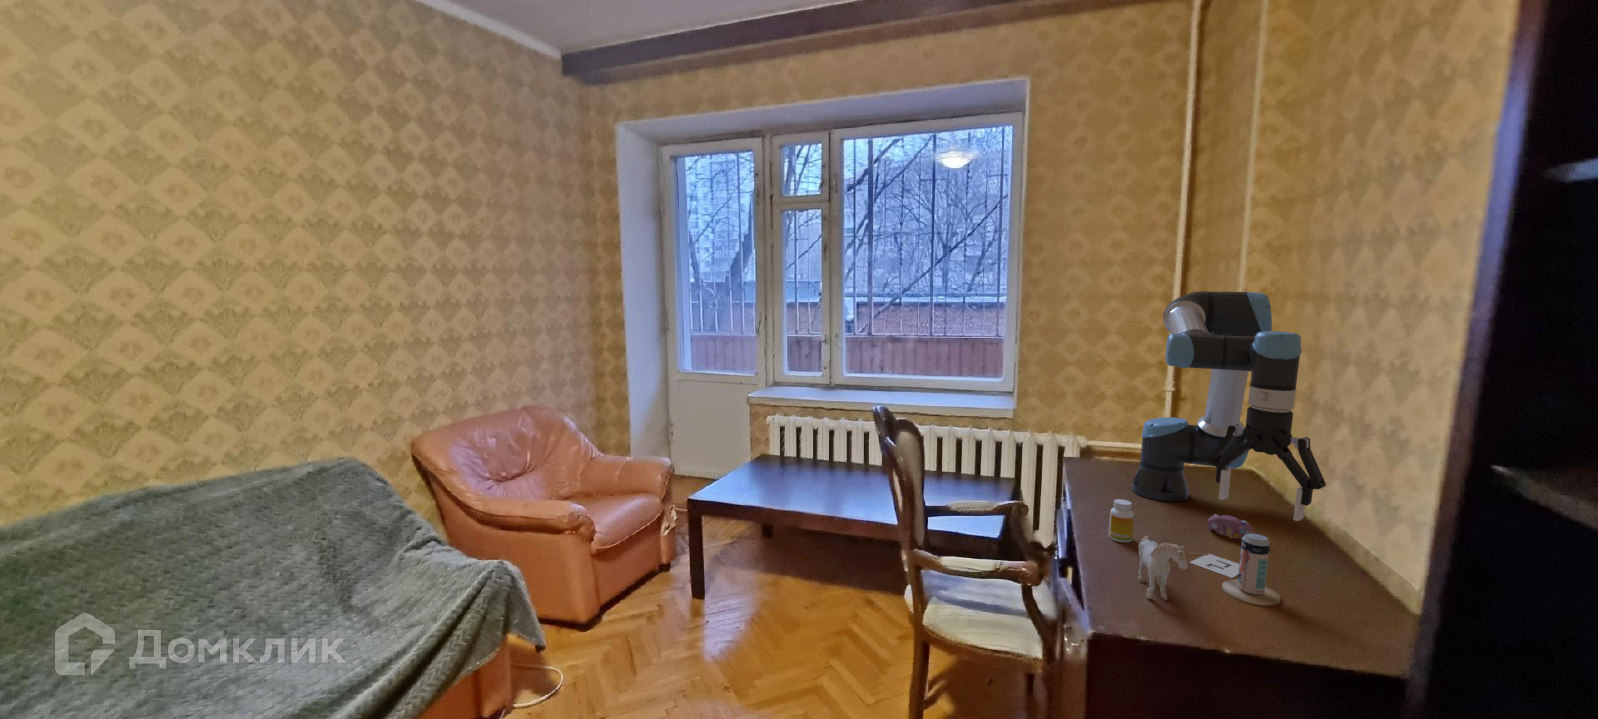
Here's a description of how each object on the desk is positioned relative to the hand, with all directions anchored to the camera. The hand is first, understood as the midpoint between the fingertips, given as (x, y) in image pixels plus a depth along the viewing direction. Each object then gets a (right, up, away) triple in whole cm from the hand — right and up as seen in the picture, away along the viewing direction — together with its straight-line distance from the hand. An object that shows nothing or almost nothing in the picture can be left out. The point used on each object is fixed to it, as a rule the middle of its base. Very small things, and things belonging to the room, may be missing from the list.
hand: (1259, 508), depth 133 cm
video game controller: (+15, -15, +32) cm, 38 cm away
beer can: (0, -18, +2) cm, 18 cm away
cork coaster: (0, -18, +2) cm, 19 cm away
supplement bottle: (-14, -15, +30) cm, 36 cm away
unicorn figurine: (-18, -19, +2) cm, 26 cm away
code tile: (+2, -17, +15) cm, 23 cm away
